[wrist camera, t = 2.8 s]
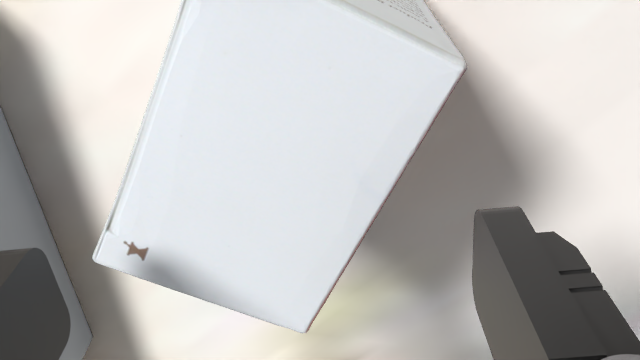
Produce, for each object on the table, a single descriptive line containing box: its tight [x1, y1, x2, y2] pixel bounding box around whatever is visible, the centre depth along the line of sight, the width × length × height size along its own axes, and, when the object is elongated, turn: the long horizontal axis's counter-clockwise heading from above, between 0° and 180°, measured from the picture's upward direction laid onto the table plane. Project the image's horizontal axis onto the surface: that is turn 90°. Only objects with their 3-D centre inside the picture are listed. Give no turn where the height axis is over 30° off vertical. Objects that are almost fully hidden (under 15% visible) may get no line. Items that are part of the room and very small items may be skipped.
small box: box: [92, 0, 467, 333], centre depth 17 cm, size 8×6×10 cm
